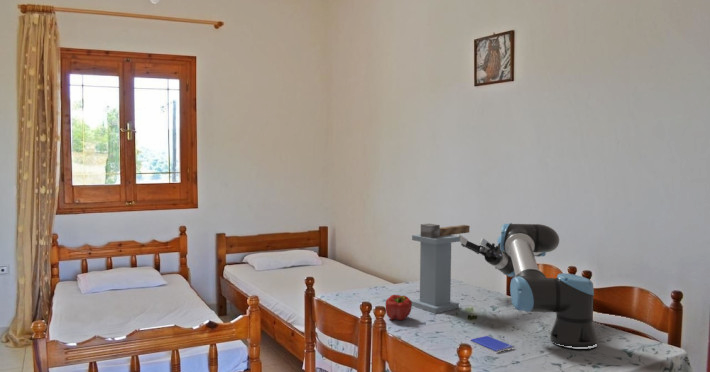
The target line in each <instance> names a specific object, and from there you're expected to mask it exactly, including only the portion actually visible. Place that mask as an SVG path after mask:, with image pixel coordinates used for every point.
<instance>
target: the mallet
mask: <svg viewBox="0 0 710 372" xmlns="http://www.w3.org/2000/svg"><path fill="white" fill-rule="evenodd" d="M470 228H471V227H470V225H468V224H462V225H452V226H442V227H440V224H435V223H423V224H420V234H421V237H427V238H437V237H440V236H446V235H453V236H455V235H458V234H460V235H462V234H467V233H468V234H469V233H470Z"/></svg>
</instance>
